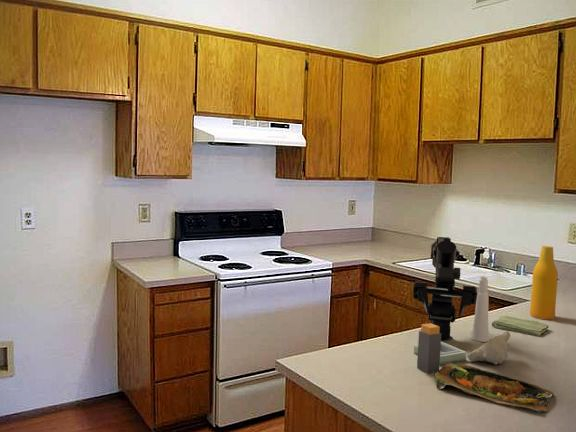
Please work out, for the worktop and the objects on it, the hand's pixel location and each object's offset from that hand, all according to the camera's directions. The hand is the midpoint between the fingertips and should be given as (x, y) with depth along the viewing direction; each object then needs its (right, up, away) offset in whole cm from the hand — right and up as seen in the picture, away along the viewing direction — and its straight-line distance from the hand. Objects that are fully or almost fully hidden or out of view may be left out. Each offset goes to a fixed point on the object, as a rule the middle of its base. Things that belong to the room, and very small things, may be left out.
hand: (443, 314), depth 159 cm
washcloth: (+40, -13, +40) cm, 58 cm away
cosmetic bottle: (+20, -13, +25) cm, 35 cm away
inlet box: (0, -14, +6) cm, 15 cm away
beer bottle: (+57, -12, +58) cm, 82 cm away
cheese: (+16, -15, +5) cm, 23 cm away
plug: (-6, -15, -5) cm, 17 cm away
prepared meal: (+7, -17, -18) cm, 26 cm away
